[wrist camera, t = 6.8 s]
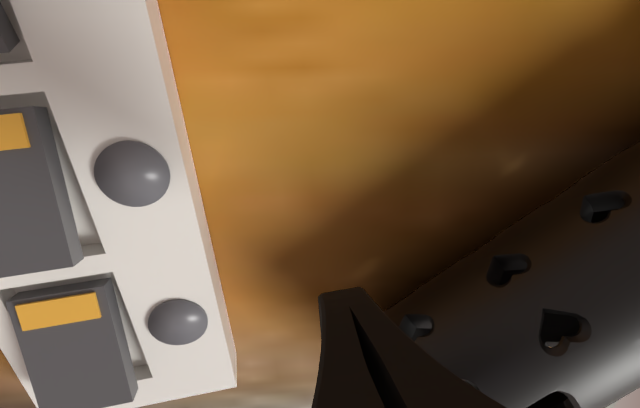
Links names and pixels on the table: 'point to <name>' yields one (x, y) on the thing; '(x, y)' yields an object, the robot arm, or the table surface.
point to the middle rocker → (33, 197)
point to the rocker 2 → (74, 345)
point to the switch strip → (123, 188)
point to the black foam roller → (545, 300)
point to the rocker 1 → (6, 33)
